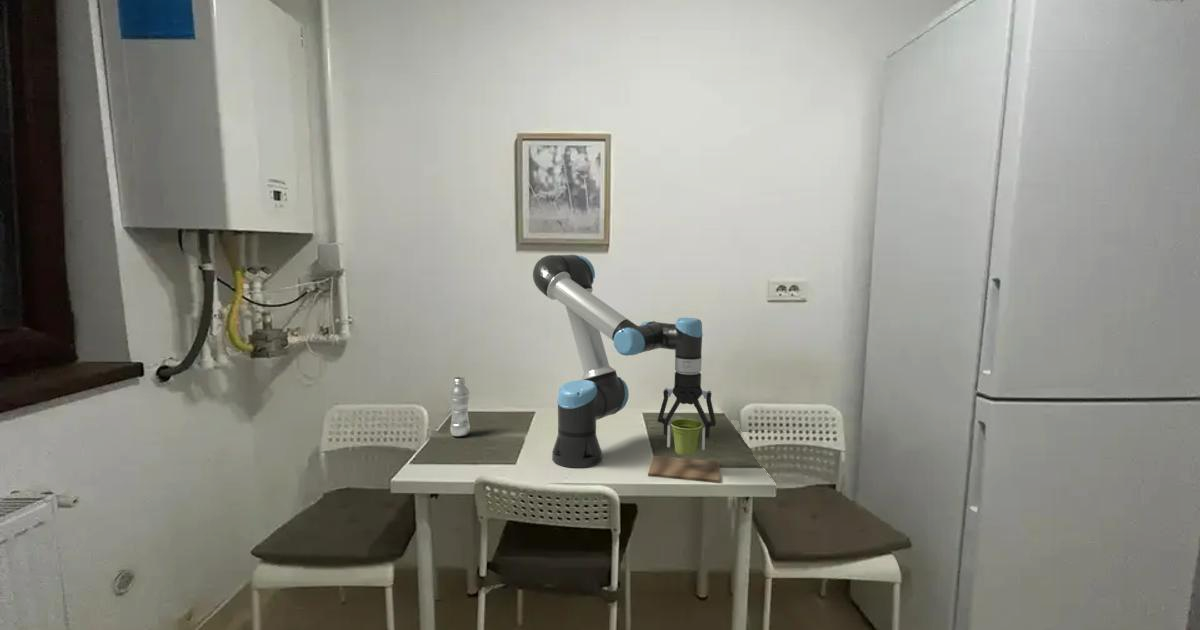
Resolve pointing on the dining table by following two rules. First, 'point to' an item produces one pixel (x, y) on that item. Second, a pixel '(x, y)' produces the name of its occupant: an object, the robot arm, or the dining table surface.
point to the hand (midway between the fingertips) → (685, 447)
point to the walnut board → (685, 469)
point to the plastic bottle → (459, 408)
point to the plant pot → (686, 435)
